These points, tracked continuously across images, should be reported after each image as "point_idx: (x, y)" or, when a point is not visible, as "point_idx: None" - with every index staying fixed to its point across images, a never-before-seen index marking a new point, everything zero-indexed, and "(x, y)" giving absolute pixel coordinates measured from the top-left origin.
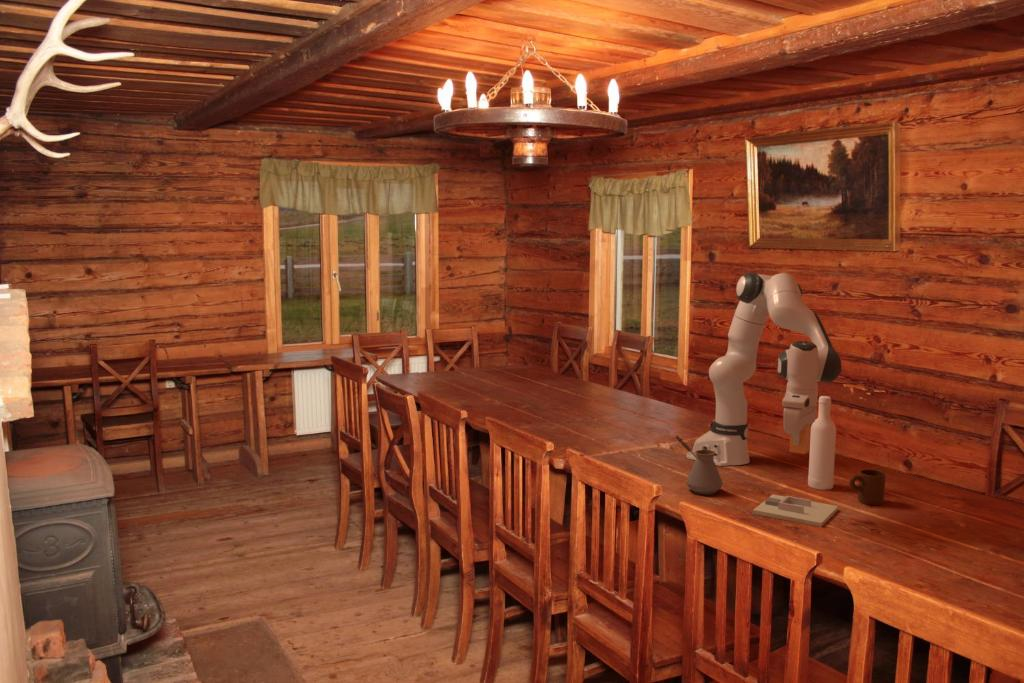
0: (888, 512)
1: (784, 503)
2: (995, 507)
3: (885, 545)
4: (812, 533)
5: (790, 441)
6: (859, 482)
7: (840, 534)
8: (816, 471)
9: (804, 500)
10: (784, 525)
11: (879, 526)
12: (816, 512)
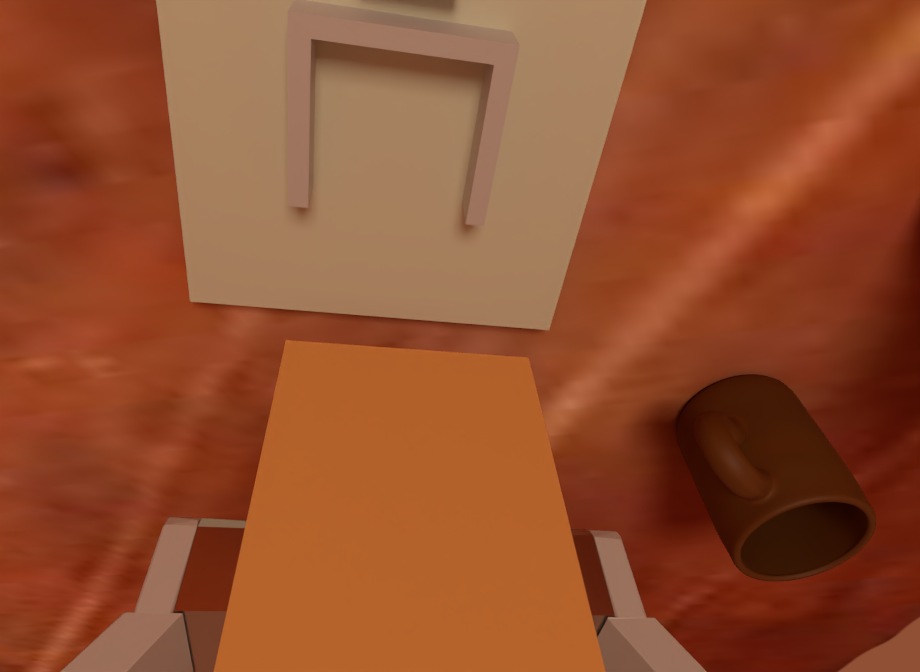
0: (591, 479)
1: (297, 64)
2: (750, 666)
3: (145, 513)
4: (49, 264)
5: (256, 486)
6: (768, 452)
7: (149, 375)
8: None
9: (472, 182)
10: (57, 90)
11: None
12: (368, 251)
